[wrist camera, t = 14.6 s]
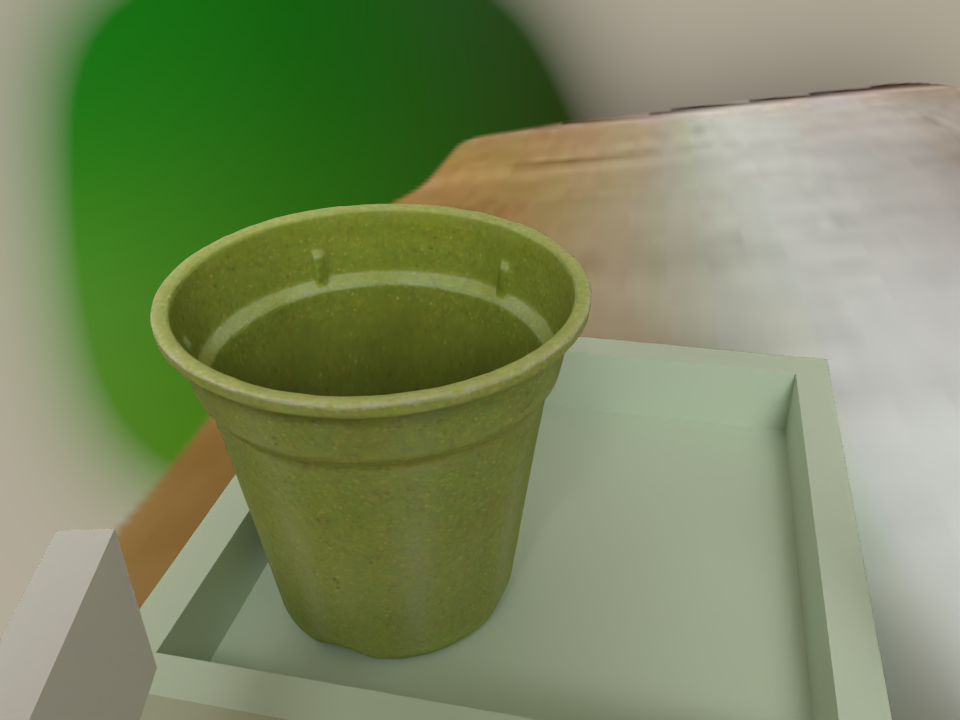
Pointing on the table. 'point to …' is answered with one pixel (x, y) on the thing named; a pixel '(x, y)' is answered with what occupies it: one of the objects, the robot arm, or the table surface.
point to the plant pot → (379, 404)
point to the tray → (588, 571)
